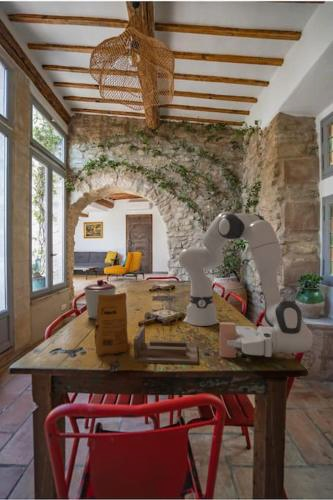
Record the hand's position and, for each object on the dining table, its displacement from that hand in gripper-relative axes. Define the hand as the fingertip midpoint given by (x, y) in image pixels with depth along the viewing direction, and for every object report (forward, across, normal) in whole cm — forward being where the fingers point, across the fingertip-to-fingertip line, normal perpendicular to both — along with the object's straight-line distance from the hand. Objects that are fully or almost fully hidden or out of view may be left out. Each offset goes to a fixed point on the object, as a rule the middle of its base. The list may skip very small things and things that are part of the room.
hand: (225, 337), depth 101 cm
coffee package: (+43, -2, +7) cm, 44 cm away
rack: (+21, 0, +7) cm, 22 cm away
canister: (+63, -49, +7) cm, 81 cm away
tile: (-1, 0, +7) cm, 7 cm away
